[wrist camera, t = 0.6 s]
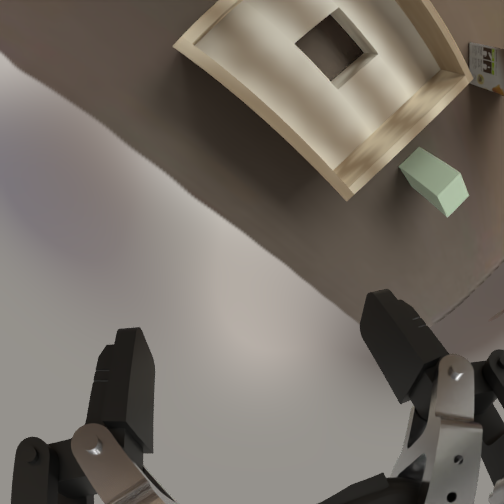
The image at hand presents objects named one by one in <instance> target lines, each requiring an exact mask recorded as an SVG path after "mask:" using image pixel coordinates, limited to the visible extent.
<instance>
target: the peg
mask: <svg viewBox="0 0 504 504" xmlns="http://www.w3.org/2000/svg"><path fill="white" fill-rule="evenodd" d="M399 168H400V169H401V171H402V172H403V174H404V176H405V177H406V179H407V180H408V182H409V183H410V185H411V187H413V188H414V189H415V190H416V191H418V192H419V193H420V194H421V195H422V196H423V197H425V198H426V199H427V200H428V201H429V202H430V203H432V204H433V205H434V206H435V207H436V208H437V209H438V210H440V211H441V212H442V213H443V214H444V215H445V216H446V217H447V218H448V217H449V216H450V215H451V214H452V213H453V212H454V211H455V210H456V209H457V208H458V207H459V205H460V204H461V203H462V202H463V201H464V200H465V199H466V198H467V197H468V196H469V194H468V192H467V189H466V186H465V184H464V181H463V179H462V176H461V174H460V172H458V171H457V170H455V169H454V168H452V167H451V166H449V165H448V164H446V163H445V162H443V161H442V160H440V159H438V158H437V157H435V156H434V155H432V154H430V153H429V152H427V151H425V150H424V149H422V148H420V147H418V148H417V149H416V150H415V151H414V152H413V153H412V154H411V155H410V156H409V157H408V158H407V159H406V160H405V161H404V162H403V163H402V164H401V165H400V166H399Z"/></svg>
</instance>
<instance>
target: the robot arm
mask: <svg viewBox="0 0 504 504" xmlns="http://www.w3.org/2000/svg"><path fill="white" fill-rule="evenodd" d="M360 332H361V335H362V338H363V340H364V341H365V343H366V345H367V347H368V348H369V350H370V352H371V353H372V355H373V357H374V358H375V360H376V362H377V364H378V365H379V367H380V369H381V371H382V372H383V374H384V375H385V378H386V380H387V381H388V383H389V385H390V387H391V388H392V390H393V392H394V394H395V396H396V397H397V399H398V401H399V403H400V404H402V403H404V402H407V401H409V400H411V401H412V403H413V406H412V408H411V412H410V417H409V422H408V427H407V431H406V436H405V440H404V445H403V448H402V452H401V454H400V456H399V458H398V460H397V462H396V464H395V466H394V468H393V471H392V474H391V477H390V478H386V477H385V475H384V473H381V474H379V475H376V476H374V477H371V478H368V479H366V480H363V481H360V482H358V483H355V484H352V485H350V486H348V487H347V488H345V489H344V490H342V491H340V492H339V493H337V494H335V495H333V496H332V497H330V498H328V499H326V500H324V501H323V502H321V503H318V504H474V499H475V494H476V488H477V482H478V476H479V468H480V460H481V458H482V460H483V462H484V464H485V466H486V469H487V471H488V473H489V475H490V478H491V480H492V482H493V485H494V490H493V492H492V493H491V494H490V495H489V502H490V504H504V423H503V421H502V419H501V417H500V415H499V414H498V412H497V410H496V408H495V407H494V405H493V402H494V401H495V400H496V399H497V398H498V400H499V402H500V403H501V405H502V407H503V408H504V350H495V351H493V352H492V353H491V355H490V356H489V358H488V359H487V361H480V362H473V363H470V362H469V361H468V360H467V359H466V358H464V357H462V356H460V355H457V354H449V353H448V352H447V351H446V349H445V348H444V347H443V345H442V344H441V343H440V341H439V340H438V339H437V338H436V336H435V335H434V334H433V332H432V331H431V330H430V328H429V327H428V326H426V323H425V322H424V321H423V320H422V318H420V316H419V315H418V313H417V312H416V311H415V310H414V308H413V307H412V306H410V305H409V304H407V303H406V302H404V301H402V300H397V298H396V297H395V296H394V295H393V293H392V292H391V291H390V290H388V289H384V290H379V291H375V292H370V293H368V294H367V297H366V301H365V305H364V309H363V313H362V317H361V321H360ZM154 382H155V365H154V360H153V357H152V354H151V352H150V349H149V347H148V345H147V342H146V340H145V337H144V335H143V332H142V330H141V328H139V327H137V328H125V329H118V331H117V334H116V339H115V344H114V345H106V347H105V348H104V350H103V351H102V353H101V354H100V356H99V358H98V362H97V367H96V372H95V376H94V383H93V386H92V391H91V396H90V402H89V408H88V413H87V419H86V423H85V425H84V426H82V427H80V428H79V429H78V430H77V431H76V432H75V433H74V435H73V437H72V438H71V439H69V440H65V441H60V442H57V443H52V444H46V443H45V442H44V441H42V440H41V439H39V438H37V437H28V438H26V439H24V440H23V441H22V442H21V443H20V444H19V446H18V448H17V450H16V455H15V463H14V472H13V481H12V494H11V504H94V494H98V495H99V496H100V498H101V499H102V501H103V502H104V503H105V504H179V503H178V502H177V501H176V500H175V499H174V498H173V497H172V496H171V495H170V494H169V493H168V492H167V491H166V490H165V489H164V488H163V487H162V485H160V483H159V482H158V481H157V480H156V479H155V478H154V477H153V475H152V474H151V473H150V472H149V471H148V470H147V469H146V467H145V466H144V465H143V453H153V411H154V409H153V408H154Z"/></svg>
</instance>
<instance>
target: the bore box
mask: <svg viewBox="0 0 504 504" xmlns="http://www.w3.org/2000/svg"><path fill="white" fill-rule="evenodd" d="M329 14H330V15H331V16H332V17H333V18H334V19H335V20H336V21H337V22H338V23H339V24H340V26H341V27H342V28H343V29H344V30H345V31H346V32H347V33H348V34H349V36H350V37H351V38H352V39H353V40H354V41H355V43H356V44H357V45H358V46H359V47H360V49H361V50H362V51H363V52H364V53H363V54H362V55H361V56H360V57H358V58H357V59H356V60H355V61H354V62H353V63H351V64H350V65H349V66H348V67H347V68H346V69H345V70H344V71H342V72H341V73H340V74H339V75H338V76H337V77H336V78H335V79H333V80H332V81H330V80H329V79H328V78H327V77H326V76H325V75H324V74H323V73H322V72H321V71H320V69H319V68H318V67H317V66H316V65H315V64H314V63H313V62H312V61H311V60H310V59H309V58H308V57H307V56H306V55H305V54H304V53H303V52H302V51H301V50H300V49H299V48H298V47H297V46H296V45H295V44H294V43H296V42H297V41H298V40H299V39H300V38H301V37H303V36H304V35H305V34H306V33H307V32H308V31H310V30H311V29H312V28H313V27H314V26H316V25H317V24H318V23H319V22H321V21H322V20H323V19H324V18H326V17H327V16H328V15H329ZM173 47H174V48H175V49H177V50H178V51H179V52H181V53H182V54H184V55H185V56H186V57H188V58H189V59H190V60H192V61H193V62H194V63H196V64H197V65H198V66H200V67H201V68H202V69H204V70H205V71H206V72H207V73H209V74H210V75H211V76H212V77H214V78H215V79H216V80H217V81H219V82H220V83H221V84H222V85H224V86H225V87H226V88H227V89H229V90H230V91H231V92H232V93H233V94H235V95H236V96H237V97H238V98H239V99H241V100H242V101H243V102H244V103H245V104H246V105H248V106H249V107H250V108H251V109H252V110H253V111H255V112H256V113H257V114H258V115H259V116H260V117H261V118H262V119H264V120H265V121H266V122H267V123H268V124H269V125H270V126H271V127H272V128H273V129H275V130H276V131H277V132H278V133H279V134H280V135H281V136H282V137H283V138H284V139H285V140H286V141H287V142H289V143H290V144H291V145H292V146H293V147H294V148H295V149H296V150H297V151H298V152H299V153H300V154H301V155H302V156H303V157H304V158H305V159H306V160H307V161H308V162H309V163H310V164H311V165H312V166H313V167H314V168H315V169H316V170H317V171H318V172H319V173H320V174H321V175H322V176H323V177H324V178H325V179H326V180H327V181H328V182H329V183H330V184H331V185H332V186H333V187H334V189H335V190H336V191H337V192H338V193H339V194H340V195H341V196H342V197H343V198H344V199H345V200H346V201H348V200H349V199H350V198H351V197H352V196H353V195H354V194H355V193H356V192H357V191H358V190H360V189H361V188H362V187H363V186H364V185H365V184H366V183H367V182H368V181H369V180H370V179H371V178H372V177H373V176H374V175H376V174H377V173H378V172H379V171H380V170H381V169H382V168H383V167H384V166H385V165H386V164H387V163H388V162H389V161H390V160H391V159H392V158H394V157H395V156H396V155H397V154H398V153H399V152H400V151H401V150H402V149H403V148H404V147H405V146H406V145H407V144H408V143H409V142H410V141H411V140H412V139H413V138H414V137H415V136H416V135H417V134H418V133H420V132H421V131H422V130H423V129H424V128H425V127H426V126H427V125H428V124H429V123H430V122H431V121H432V120H433V119H434V118H435V117H436V116H437V115H438V114H439V113H440V112H441V111H442V110H443V109H444V108H445V107H446V106H447V105H448V104H449V103H450V102H451V101H452V100H453V99H454V98H455V97H456V96H457V95H458V94H459V93H460V92H461V91H462V90H463V89H464V88H465V87H466V86H467V85H468V84H469V83H470V82H471V81H472V80H473V77H472V74H471V72H470V70H469V68H468V66H467V64H466V62H465V60H464V58H463V56H462V54H461V52H460V50H459V48H458V46H457V44H456V43H455V41H454V39H453V37H452V35H451V34H450V32H449V30H448V28H447V27H446V25H445V23H444V22H443V20H442V19H441V17H440V15H439V14H438V12H437V11H436V9H435V8H434V6H433V5H432V3H431V2H430V0H219V1H218V2H216V3H215V4H214V5H213V6H212V7H211V8H210V9H209V10H208V11H207V12H206V13H205V14H203V15H202V16H201V17H200V18H199V19H198V20H197V21H196V22H195V23H194V24H193V25H192V26H191V27H190V28H189V29H188V30H187V31H186V32H185V33H184V34H183V35H182V37H181V38H180V39H179V40H178V41H177V42H176V43H175V44H174V45H173Z"/></svg>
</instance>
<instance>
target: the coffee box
mask: <svg viewBox="0 0 504 504" xmlns="http://www.w3.org/2000/svg"><path fill="white" fill-rule="evenodd" d="M469 70H470V72H471V74H472V77H473V80H472V81H471V82H470V84H472V85H475V86H478V87H481V88H484V89H487V90H489V91H492V92H495V93H497V94H500V95H502V96H504V49H500V48H496V47H491V46H487V45H482V44H476V43H471V42H470V43H469Z"/></svg>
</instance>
